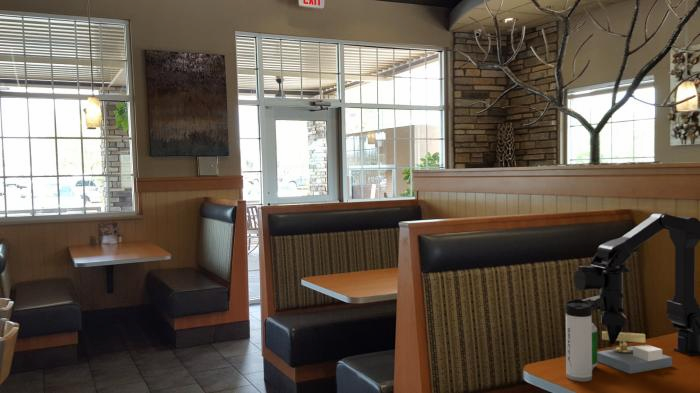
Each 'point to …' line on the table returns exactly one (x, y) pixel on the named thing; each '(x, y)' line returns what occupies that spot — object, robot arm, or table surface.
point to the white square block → (647, 352)
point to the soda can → (594, 346)
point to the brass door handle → (625, 340)
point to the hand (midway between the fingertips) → (611, 342)
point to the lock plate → (631, 361)
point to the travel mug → (578, 340)
